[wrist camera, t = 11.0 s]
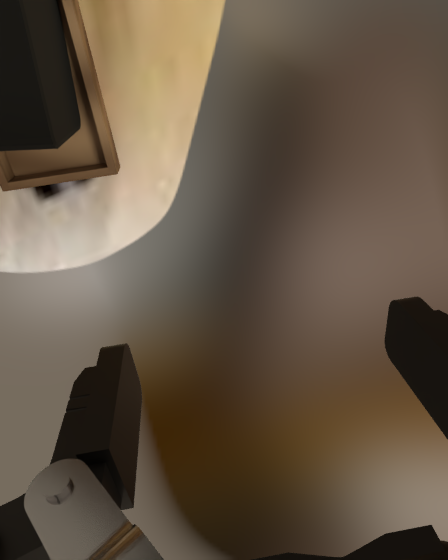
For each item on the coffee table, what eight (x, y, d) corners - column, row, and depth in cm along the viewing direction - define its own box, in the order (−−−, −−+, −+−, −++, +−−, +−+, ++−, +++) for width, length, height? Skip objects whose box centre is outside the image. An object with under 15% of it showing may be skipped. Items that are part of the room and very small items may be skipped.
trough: (-75, -32, 29) (-96, -39, 27) (64, -50, 29) (56, -58, 27) (12, 183, 37) (2, 191, 35) (120, 166, 38) (117, 174, 36)
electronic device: (35, 128, 35) (-8, 154, 26) (0, -10, 30) (-68, -34, 21) (83, 126, 35) (56, 151, 27) (56, -10, 30) (12, -34, 22)
